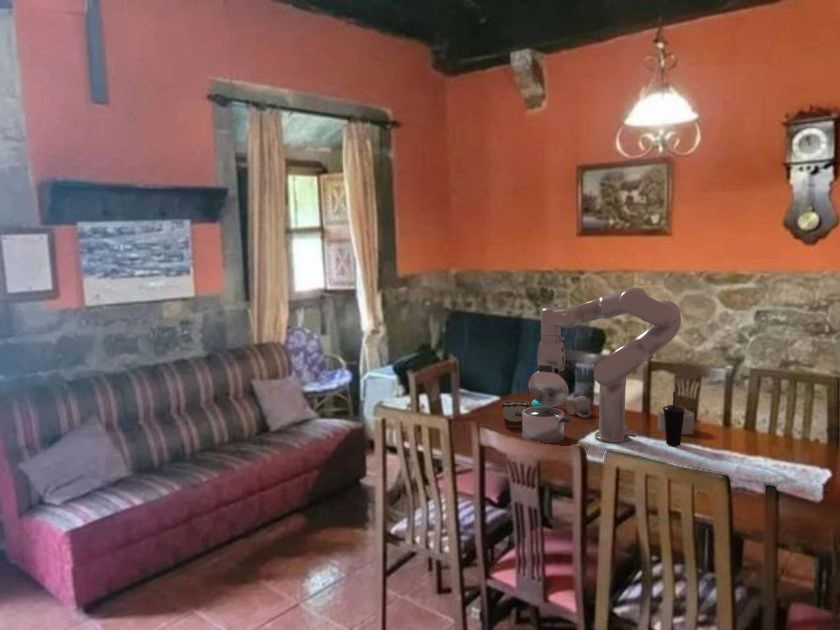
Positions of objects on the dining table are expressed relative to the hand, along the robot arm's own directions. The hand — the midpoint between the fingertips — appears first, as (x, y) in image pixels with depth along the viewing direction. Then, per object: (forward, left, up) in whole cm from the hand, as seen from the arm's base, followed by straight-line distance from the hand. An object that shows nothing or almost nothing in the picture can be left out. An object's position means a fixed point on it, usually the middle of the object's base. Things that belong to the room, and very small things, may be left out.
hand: (550, 384), depth 263 cm
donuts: (+16, -34, -19) cm, 42 cm away
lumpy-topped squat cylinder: (-44, -22, -19) cm, 53 cm away
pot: (0, +9, -19) cm, 21 cm away
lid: (0, +4, 0) cm, 4 cm away
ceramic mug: (-3, -28, -19) cm, 34 cm away
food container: (+16, -2, -19) cm, 25 cm away
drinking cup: (-46, -3, -19) cm, 50 cm away
